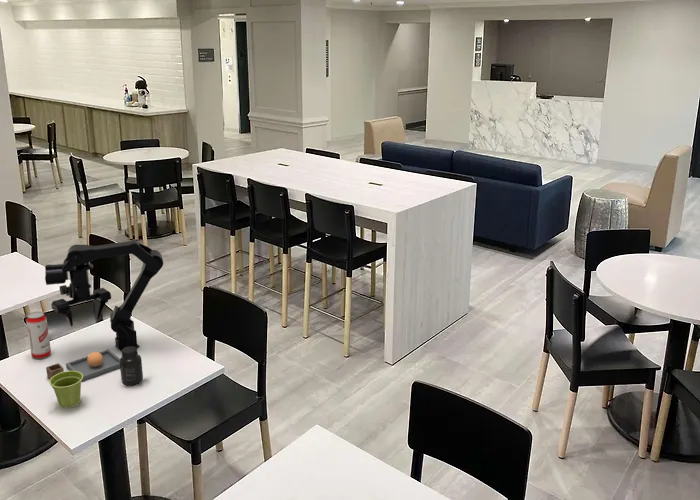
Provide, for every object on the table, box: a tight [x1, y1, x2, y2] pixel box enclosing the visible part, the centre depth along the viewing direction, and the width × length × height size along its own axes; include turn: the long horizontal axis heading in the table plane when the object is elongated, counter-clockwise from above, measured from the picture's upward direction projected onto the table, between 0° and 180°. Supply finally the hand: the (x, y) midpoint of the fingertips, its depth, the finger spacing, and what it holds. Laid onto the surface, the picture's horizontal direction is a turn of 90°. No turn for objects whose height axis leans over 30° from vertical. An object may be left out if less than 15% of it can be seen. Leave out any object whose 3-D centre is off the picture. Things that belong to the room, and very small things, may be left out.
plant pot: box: [48, 370, 83, 409], centre depth 186 cm, size 9×9×9 cm
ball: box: [87, 351, 103, 367], centre depth 206 cm, size 5×5×5 cm
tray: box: [65, 348, 121, 383], centre depth 207 cm, size 15×12×2 cm
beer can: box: [25, 311, 52, 360], centre depth 211 cm, size 6×6×16 cm
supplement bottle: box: [119, 346, 144, 387], centre depth 198 cm, size 7×7×12 cm
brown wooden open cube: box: [45, 362, 65, 381], centre depth 200 cm, size 4×4×4 cm
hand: (84, 322), depth 213 cm, fingers open, 9 cm apart
